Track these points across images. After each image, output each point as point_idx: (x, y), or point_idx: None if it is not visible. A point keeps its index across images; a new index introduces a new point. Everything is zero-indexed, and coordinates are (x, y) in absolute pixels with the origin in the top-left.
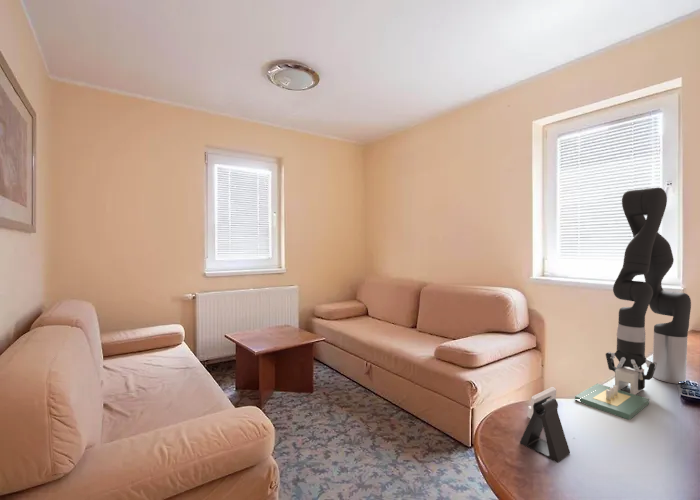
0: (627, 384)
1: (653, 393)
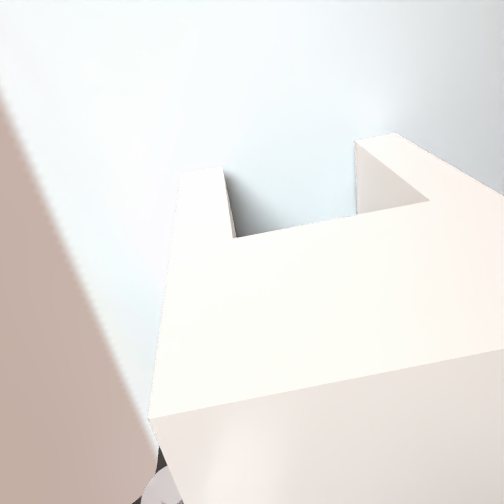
0: (231, 212)
1: (498, 148)
